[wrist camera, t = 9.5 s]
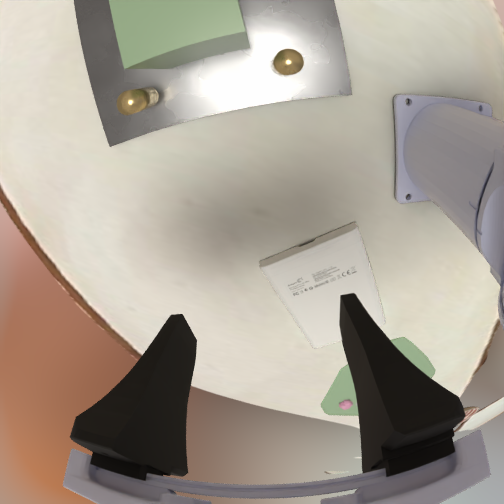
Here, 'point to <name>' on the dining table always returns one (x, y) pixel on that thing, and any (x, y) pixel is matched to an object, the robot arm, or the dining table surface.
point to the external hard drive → (324, 282)
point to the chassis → (216, 68)
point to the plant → (343, 390)
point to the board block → (176, 31)
